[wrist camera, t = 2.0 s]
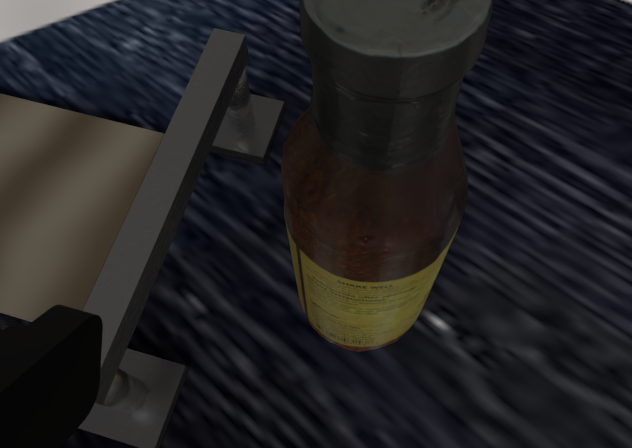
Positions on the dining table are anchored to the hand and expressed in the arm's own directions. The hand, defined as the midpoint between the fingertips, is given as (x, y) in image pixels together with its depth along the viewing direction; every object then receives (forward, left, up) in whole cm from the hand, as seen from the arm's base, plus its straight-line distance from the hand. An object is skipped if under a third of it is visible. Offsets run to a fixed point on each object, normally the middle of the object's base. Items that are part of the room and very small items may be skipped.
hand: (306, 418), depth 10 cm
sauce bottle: (0, -8, -18) cm, 20 cm away
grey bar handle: (+9, -8, -18) cm, 22 cm away
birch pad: (+19, -8, -18) cm, 27 cm away
